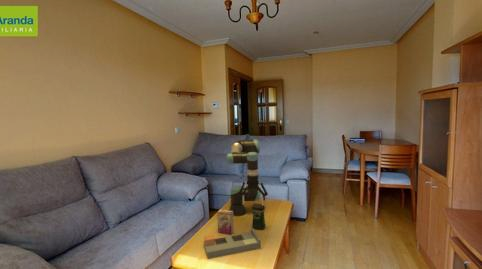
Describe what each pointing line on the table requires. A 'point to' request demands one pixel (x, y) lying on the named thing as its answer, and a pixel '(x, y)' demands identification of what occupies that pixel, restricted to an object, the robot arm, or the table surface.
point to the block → (209, 240)
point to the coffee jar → (258, 216)
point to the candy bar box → (225, 221)
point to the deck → (233, 244)
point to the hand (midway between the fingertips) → (253, 204)
